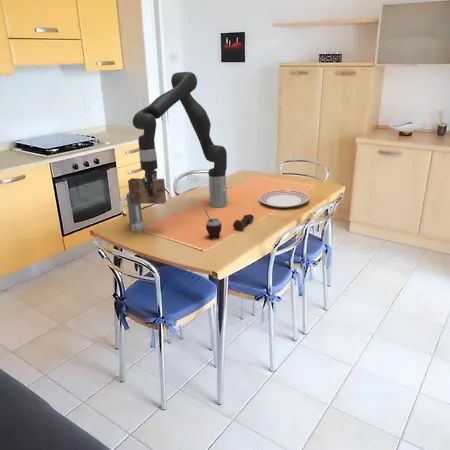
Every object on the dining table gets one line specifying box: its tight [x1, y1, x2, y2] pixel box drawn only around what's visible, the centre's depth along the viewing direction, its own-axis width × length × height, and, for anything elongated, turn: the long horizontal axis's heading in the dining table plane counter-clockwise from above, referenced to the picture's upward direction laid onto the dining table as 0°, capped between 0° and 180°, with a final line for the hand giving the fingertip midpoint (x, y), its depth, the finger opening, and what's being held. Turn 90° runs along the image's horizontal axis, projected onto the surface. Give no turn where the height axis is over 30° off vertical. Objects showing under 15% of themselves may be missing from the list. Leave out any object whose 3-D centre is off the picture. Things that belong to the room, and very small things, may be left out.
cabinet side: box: [125, 192, 144, 233], centre depth 210 cm, size 7×15×18 cm, turn 171°
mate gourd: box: [199, 206, 222, 240], centre depth 195 cm, size 8×8×15 cm
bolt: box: [232, 213, 255, 232], centre depth 209 cm, size 6×5×15 cm
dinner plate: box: [258, 189, 310, 209], centre depth 239 cm, size 27×27×3 cm
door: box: [127, 177, 167, 205], centre depth 199 cm, size 16×5×11 cm, turn 81°
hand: (152, 194), depth 200 cm, fingers closed on door, 3 cm apart
